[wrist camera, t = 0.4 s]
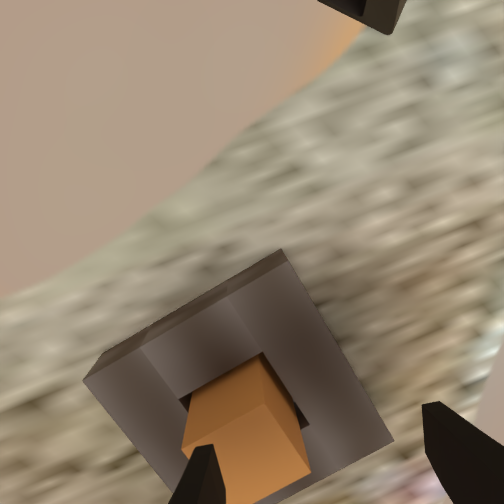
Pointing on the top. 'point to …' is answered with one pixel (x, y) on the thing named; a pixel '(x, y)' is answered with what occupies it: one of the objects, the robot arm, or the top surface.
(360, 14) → the phone stand
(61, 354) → the top surface
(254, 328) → the pocket holder
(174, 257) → the top surface
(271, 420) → the orange block
